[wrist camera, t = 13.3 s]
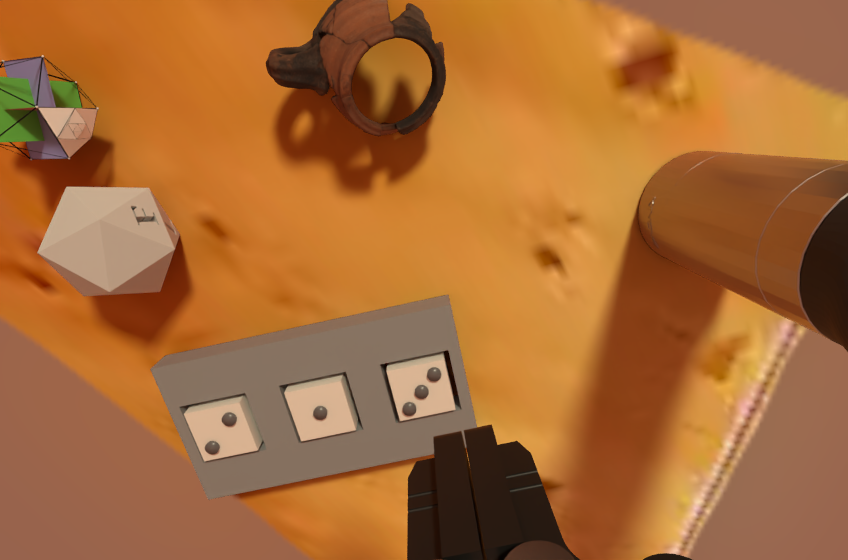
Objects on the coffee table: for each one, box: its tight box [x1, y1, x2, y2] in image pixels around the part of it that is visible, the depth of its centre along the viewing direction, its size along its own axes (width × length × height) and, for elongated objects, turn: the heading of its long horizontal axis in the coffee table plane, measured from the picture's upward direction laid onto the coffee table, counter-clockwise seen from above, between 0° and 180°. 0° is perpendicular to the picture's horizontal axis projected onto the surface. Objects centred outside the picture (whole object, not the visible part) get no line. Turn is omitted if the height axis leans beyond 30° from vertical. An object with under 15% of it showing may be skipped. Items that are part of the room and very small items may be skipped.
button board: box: [151, 295, 477, 499], centre depth 43 cm, size 26×14×2 cm, turn 102°
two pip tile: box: [184, 393, 263, 461], centre depth 43 cm, size 5×5×3 cm
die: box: [37, 187, 180, 296], centre depth 35 cm, size 8×9×10 cm
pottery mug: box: [266, 0, 446, 136], centre depth 33 cm, size 12×10×8 cm
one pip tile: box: [284, 372, 359, 441], centre depth 42 cm, size 5×5×3 cm
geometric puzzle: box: [0, 55, 99, 161], centre depth 33 cm, size 7×7×8 cm
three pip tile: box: [387, 351, 456, 421], centre depth 42 cm, size 5×5×3 cm
